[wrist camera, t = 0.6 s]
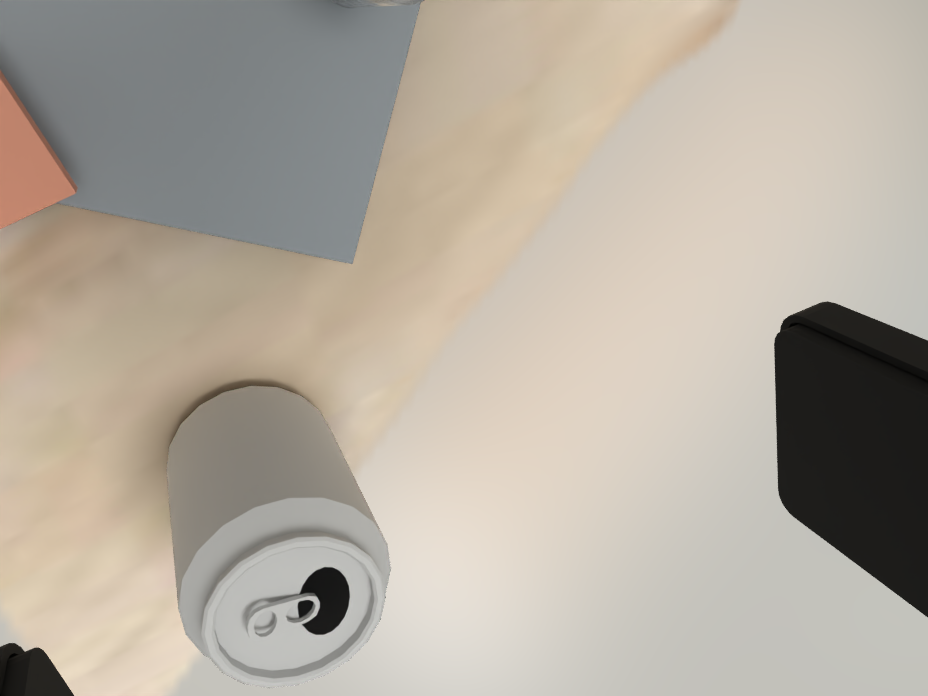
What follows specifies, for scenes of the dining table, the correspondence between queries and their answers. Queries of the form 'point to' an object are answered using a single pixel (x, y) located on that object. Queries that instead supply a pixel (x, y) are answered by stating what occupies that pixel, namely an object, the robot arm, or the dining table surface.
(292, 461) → the can
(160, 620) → the dining table surface
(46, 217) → the dining table surface
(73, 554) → the dining table surface
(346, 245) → the base plate
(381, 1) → the cylinder
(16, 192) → the pink t-shaped block
